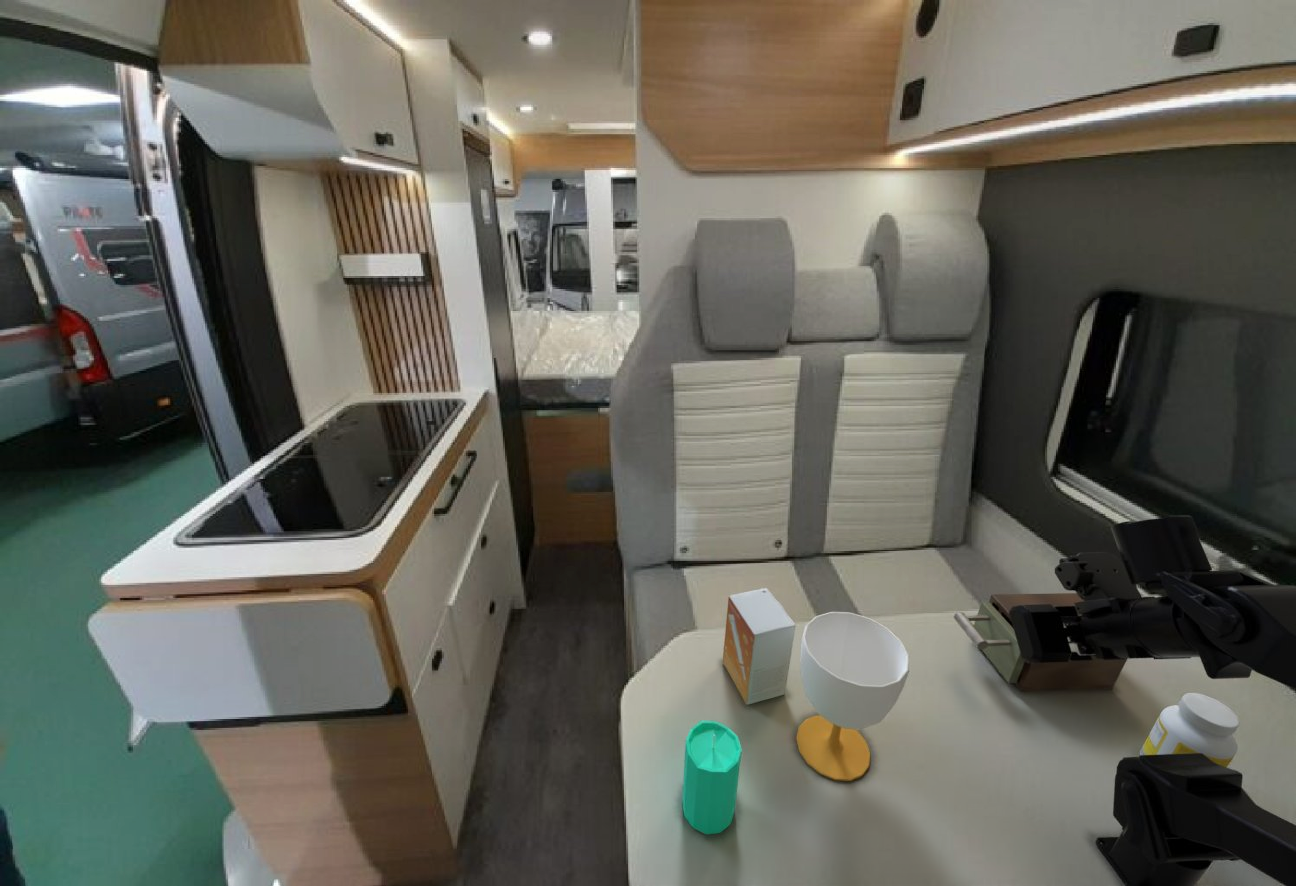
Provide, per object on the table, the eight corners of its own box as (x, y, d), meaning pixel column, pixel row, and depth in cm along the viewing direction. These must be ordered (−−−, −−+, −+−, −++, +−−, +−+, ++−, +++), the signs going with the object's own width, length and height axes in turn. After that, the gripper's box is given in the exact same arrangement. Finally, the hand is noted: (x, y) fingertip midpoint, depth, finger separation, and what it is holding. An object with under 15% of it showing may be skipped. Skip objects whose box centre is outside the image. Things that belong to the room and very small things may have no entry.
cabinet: (1020, 690, 77) (1039, 645, 73) (976, 636, 86) (991, 594, 83) (1112, 689, 77) (1135, 643, 74) (1058, 635, 87) (1076, 592, 83)
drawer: (974, 683, 77) (987, 648, 74) (939, 635, 85) (949, 602, 82) (1092, 681, 77) (1109, 645, 74) (1046, 633, 86) (1060, 600, 83)
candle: (673, 791, 63) (677, 720, 58) (719, 773, 65) (726, 703, 60) (695, 843, 58) (701, 769, 53) (744, 822, 60) (753, 750, 55)
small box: (721, 662, 81) (727, 594, 76) (759, 653, 83) (767, 586, 77) (745, 706, 74) (754, 634, 68) (786, 695, 76) (797, 624, 70)
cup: (785, 779, 64) (803, 675, 58) (786, 699, 75) (801, 603, 68) (888, 803, 62) (921, 698, 55) (874, 717, 72) (900, 620, 65)
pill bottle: (1220, 809, 62) (1269, 740, 57) (1156, 797, 63) (1198, 729, 58) (1181, 757, 68) (1222, 691, 63) (1123, 747, 69) (1159, 681, 64)
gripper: (1210, 546, 58) (1093, 570, 72) (1045, 550, 57) (960, 573, 71) (1258, 657, 54) (1124, 659, 68) (1080, 662, 53) (982, 663, 67)
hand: (1046, 635), depth 69 cm, fingers closed
